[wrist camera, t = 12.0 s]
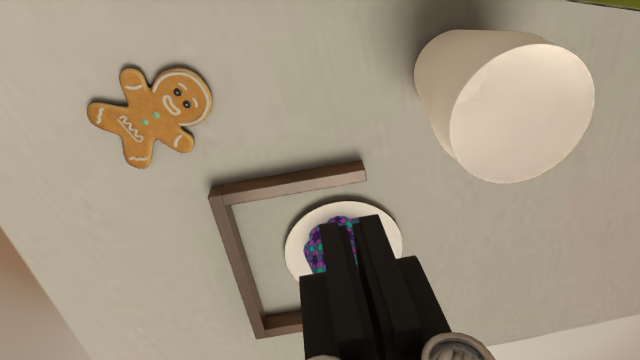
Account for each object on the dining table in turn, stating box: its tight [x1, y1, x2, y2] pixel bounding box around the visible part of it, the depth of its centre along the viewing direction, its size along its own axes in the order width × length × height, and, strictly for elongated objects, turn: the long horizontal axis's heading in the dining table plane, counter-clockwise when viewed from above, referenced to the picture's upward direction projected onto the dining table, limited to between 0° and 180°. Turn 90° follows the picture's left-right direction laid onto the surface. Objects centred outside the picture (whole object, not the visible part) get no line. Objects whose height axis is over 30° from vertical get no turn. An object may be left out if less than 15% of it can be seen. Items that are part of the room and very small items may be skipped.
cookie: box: [87, 68, 212, 169], centre depth 35 cm, size 8×1×10 cm
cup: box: [414, 29, 595, 183], centre depth 30 cm, size 9×9×12 cm
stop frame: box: [208, 160, 367, 339], centre depth 43 cm, size 14×18×2 cm
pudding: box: [285, 201, 402, 282], centre depth 41 cm, size 12×12×5 cm
